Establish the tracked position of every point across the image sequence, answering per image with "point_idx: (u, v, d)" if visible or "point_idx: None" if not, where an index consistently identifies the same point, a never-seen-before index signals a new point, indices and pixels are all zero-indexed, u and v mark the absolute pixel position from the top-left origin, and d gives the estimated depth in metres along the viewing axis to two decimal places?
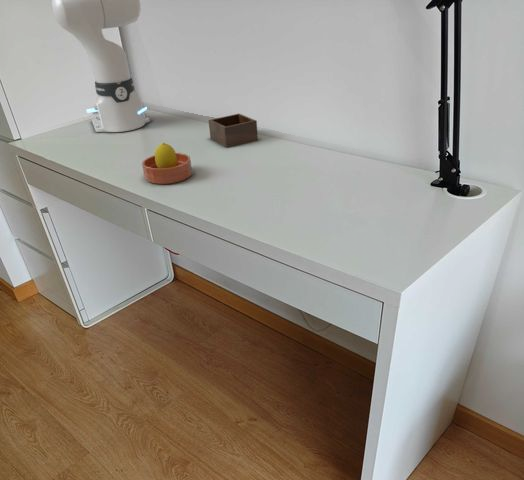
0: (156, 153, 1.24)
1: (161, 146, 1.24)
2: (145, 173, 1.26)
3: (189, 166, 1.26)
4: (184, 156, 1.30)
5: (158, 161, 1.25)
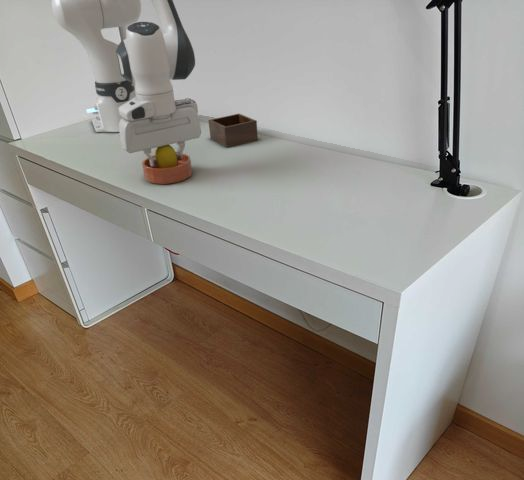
0: (156, 153, 1.24)
1: (161, 146, 1.24)
2: (145, 173, 1.26)
3: (189, 166, 1.26)
4: (184, 156, 1.30)
5: (158, 161, 1.25)
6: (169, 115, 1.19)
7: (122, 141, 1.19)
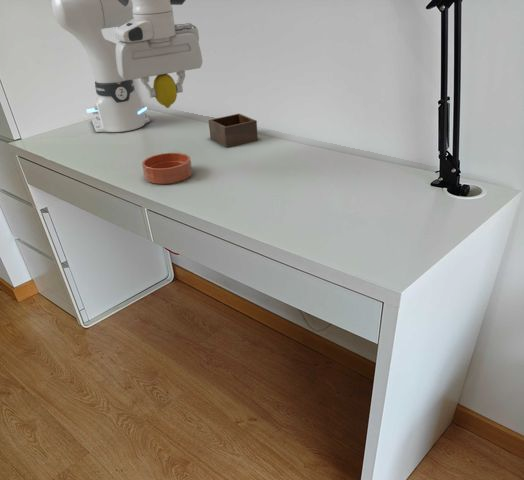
0: (155, 83, 1.18)
1: (160, 75, 1.17)
2: (145, 173, 1.26)
3: (189, 166, 1.26)
4: (184, 156, 1.30)
5: (157, 91, 1.18)
6: (168, 39, 1.12)
7: (118, 67, 1.13)
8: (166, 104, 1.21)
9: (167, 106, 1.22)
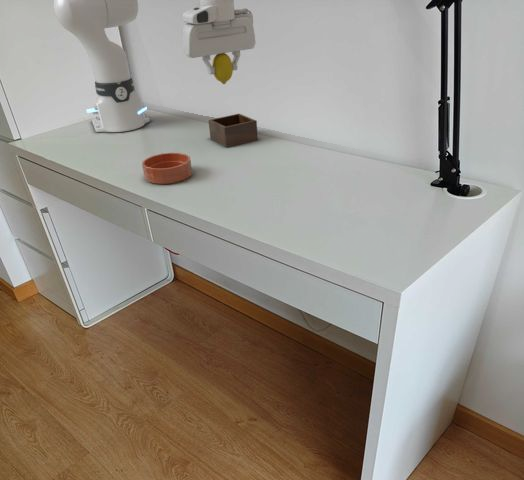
0: (214, 61, 1.34)
1: (219, 54, 1.34)
2: (145, 173, 1.26)
3: (189, 166, 1.26)
4: (184, 156, 1.30)
5: (216, 69, 1.35)
6: (229, 22, 1.29)
7: (185, 46, 1.29)
8: (223, 80, 1.37)
9: (224, 82, 1.38)
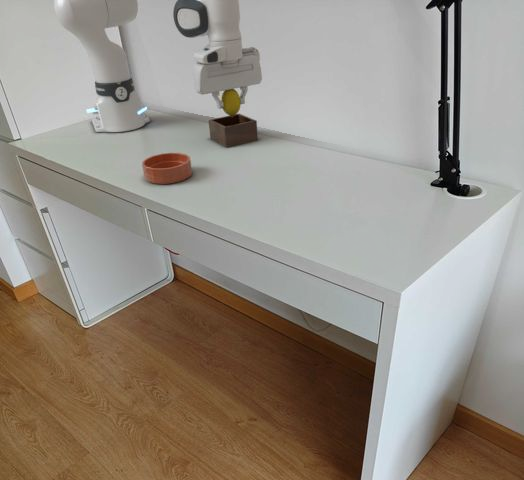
0: (223, 96, 1.42)
1: (228, 90, 1.41)
2: (145, 173, 1.26)
3: (189, 166, 1.26)
4: (184, 156, 1.30)
5: (225, 103, 1.42)
6: (237, 61, 1.36)
7: (196, 84, 1.36)
8: (231, 114, 1.44)
9: (232, 115, 1.45)
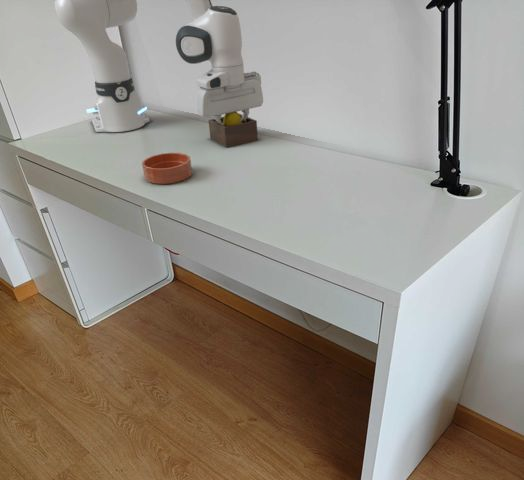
0: (225, 118, 1.45)
1: None
2: (145, 173, 1.26)
3: (189, 166, 1.26)
4: (184, 156, 1.30)
5: (227, 125, 1.46)
6: (239, 85, 1.40)
7: (199, 107, 1.40)
8: None
9: None
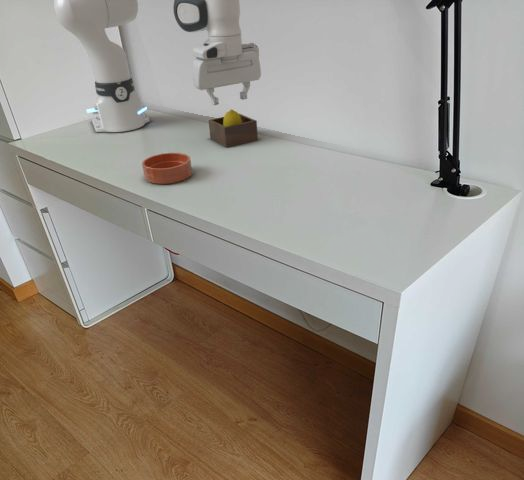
0: (225, 118, 1.45)
1: (230, 112, 1.45)
2: (145, 173, 1.26)
3: (189, 166, 1.26)
4: (184, 156, 1.30)
5: (227, 125, 1.46)
6: (236, 57, 1.36)
7: (195, 79, 1.36)
8: None
9: None
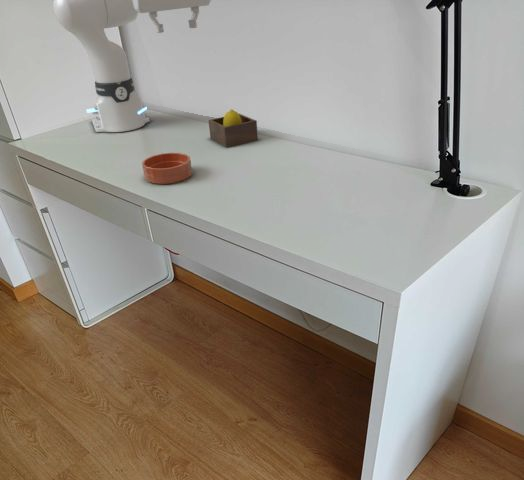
0: (225, 118, 1.45)
1: (230, 112, 1.45)
2: (145, 173, 1.26)
3: (189, 166, 1.26)
4: (184, 156, 1.30)
5: (227, 125, 1.46)
6: None
7: (134, 0, 1.22)
8: None
9: None
